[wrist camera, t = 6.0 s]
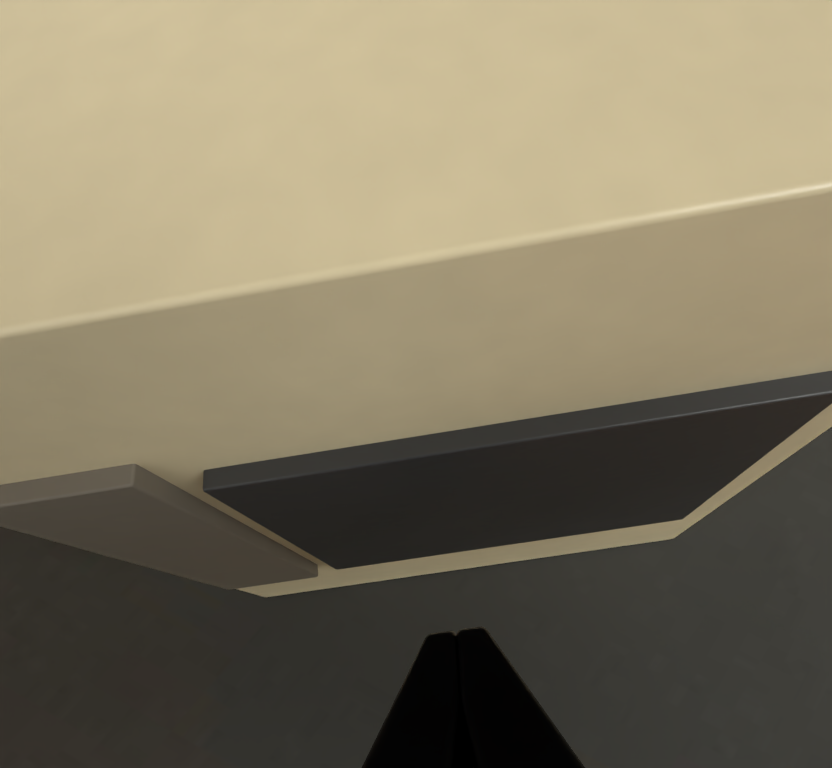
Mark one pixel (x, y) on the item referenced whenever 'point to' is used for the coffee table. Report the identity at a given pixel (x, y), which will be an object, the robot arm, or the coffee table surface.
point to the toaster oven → (405, 276)
